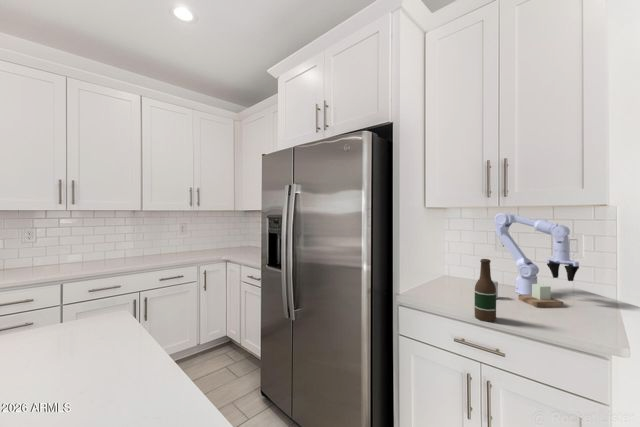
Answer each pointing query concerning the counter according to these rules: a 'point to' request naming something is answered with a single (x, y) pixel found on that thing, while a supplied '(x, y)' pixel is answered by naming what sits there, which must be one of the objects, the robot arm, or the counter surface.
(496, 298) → the medicine box
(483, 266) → the beer bottle
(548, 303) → the walnut block
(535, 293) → the sage block
